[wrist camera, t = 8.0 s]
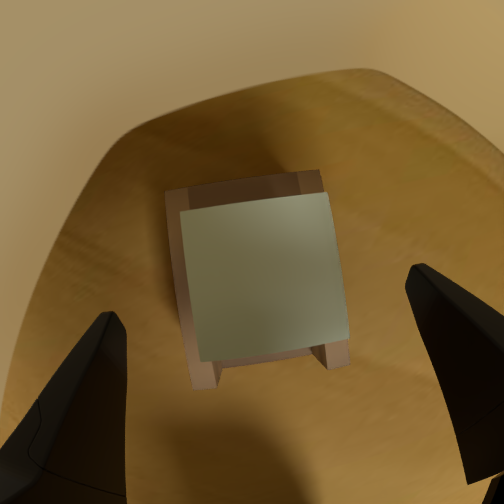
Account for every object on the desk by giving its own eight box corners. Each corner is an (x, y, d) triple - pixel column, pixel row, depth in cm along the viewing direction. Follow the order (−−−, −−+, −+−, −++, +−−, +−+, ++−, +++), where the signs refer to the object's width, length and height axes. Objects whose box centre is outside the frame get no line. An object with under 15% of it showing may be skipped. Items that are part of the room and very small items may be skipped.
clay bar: (293, 308, 17) (349, 338, 7) (226, 318, 17) (200, 362, 7) (283, 241, 18) (327, 191, 8) (216, 251, 18) (179, 211, 8)
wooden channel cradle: (326, 345, 18) (351, 364, 14) (204, 365, 18) (192, 390, 13) (303, 195, 19) (320, 169, 15) (182, 213, 19) (163, 191, 14)
